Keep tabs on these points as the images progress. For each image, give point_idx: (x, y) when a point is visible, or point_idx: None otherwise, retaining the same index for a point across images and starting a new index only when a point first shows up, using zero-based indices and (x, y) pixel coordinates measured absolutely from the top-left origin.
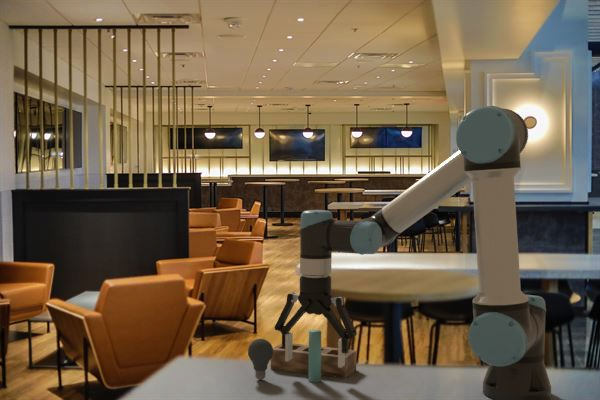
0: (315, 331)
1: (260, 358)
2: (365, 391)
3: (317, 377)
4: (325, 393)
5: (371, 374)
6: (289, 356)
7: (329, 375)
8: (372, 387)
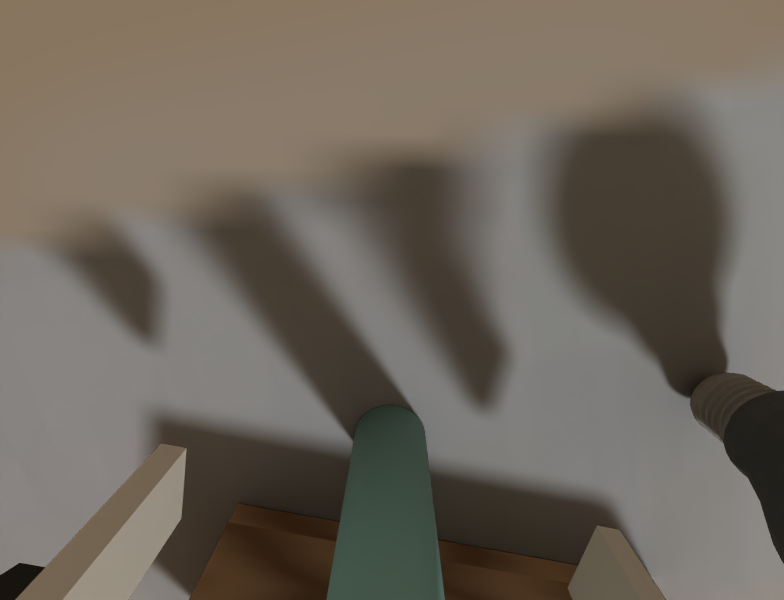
0: None
1: None
2: (56, 300)
3: (366, 427)
4: (274, 208)
5: None
6: (602, 576)
7: (325, 523)
8: (47, 380)
